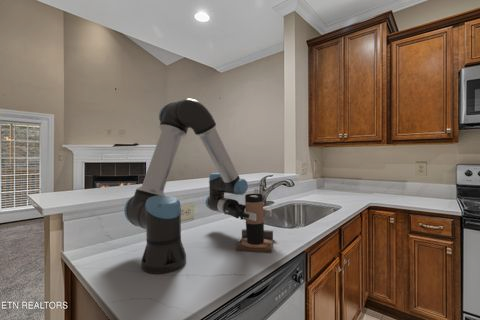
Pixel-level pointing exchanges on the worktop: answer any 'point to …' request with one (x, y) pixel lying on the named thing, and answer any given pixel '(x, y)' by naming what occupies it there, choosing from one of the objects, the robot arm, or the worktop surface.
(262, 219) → the travel mug
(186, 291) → the worktop surface
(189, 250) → the worktop surface
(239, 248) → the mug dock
